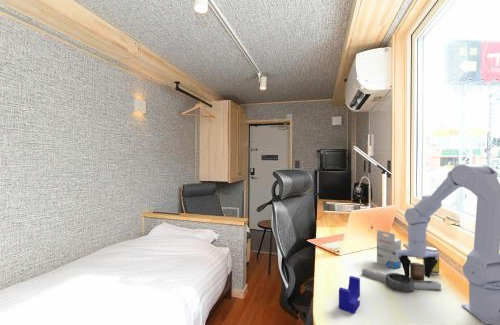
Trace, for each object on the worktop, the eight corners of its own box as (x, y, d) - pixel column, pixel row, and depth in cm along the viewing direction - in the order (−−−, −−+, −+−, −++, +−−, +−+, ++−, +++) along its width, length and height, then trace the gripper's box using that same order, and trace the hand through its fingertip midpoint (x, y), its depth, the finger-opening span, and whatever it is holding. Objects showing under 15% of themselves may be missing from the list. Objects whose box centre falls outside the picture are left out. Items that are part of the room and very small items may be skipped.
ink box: (401, 267, 109) (401, 232, 109) (394, 269, 106) (395, 234, 106) (382, 260, 116) (383, 228, 116) (376, 262, 114) (376, 229, 114)
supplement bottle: (442, 275, 100) (442, 250, 100) (426, 274, 101) (426, 249, 102) (435, 270, 106) (435, 246, 106) (420, 269, 107) (420, 245, 107)
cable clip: (354, 314, 73) (354, 293, 74) (338, 309, 76) (338, 289, 76) (364, 297, 83) (364, 279, 83) (350, 293, 86) (350, 275, 86)
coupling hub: (426, 283, 93) (426, 267, 93) (413, 282, 94) (414, 266, 94) (419, 277, 98) (419, 262, 98) (407, 277, 99) (407, 261, 99)
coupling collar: (447, 295, 85) (447, 286, 85) (374, 290, 88) (374, 281, 88) (422, 276, 99) (422, 268, 99) (361, 273, 102) (361, 265, 102)
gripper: (431, 238, 99) (431, 272, 99) (392, 236, 101) (392, 270, 100) (442, 243, 92) (442, 281, 92) (400, 241, 94) (400, 278, 93)
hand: (417, 276), depth 96 cm, fingers open, 7 cm apart
